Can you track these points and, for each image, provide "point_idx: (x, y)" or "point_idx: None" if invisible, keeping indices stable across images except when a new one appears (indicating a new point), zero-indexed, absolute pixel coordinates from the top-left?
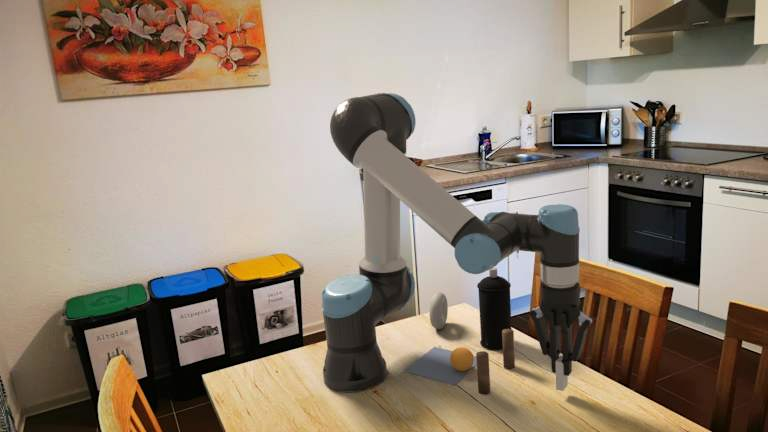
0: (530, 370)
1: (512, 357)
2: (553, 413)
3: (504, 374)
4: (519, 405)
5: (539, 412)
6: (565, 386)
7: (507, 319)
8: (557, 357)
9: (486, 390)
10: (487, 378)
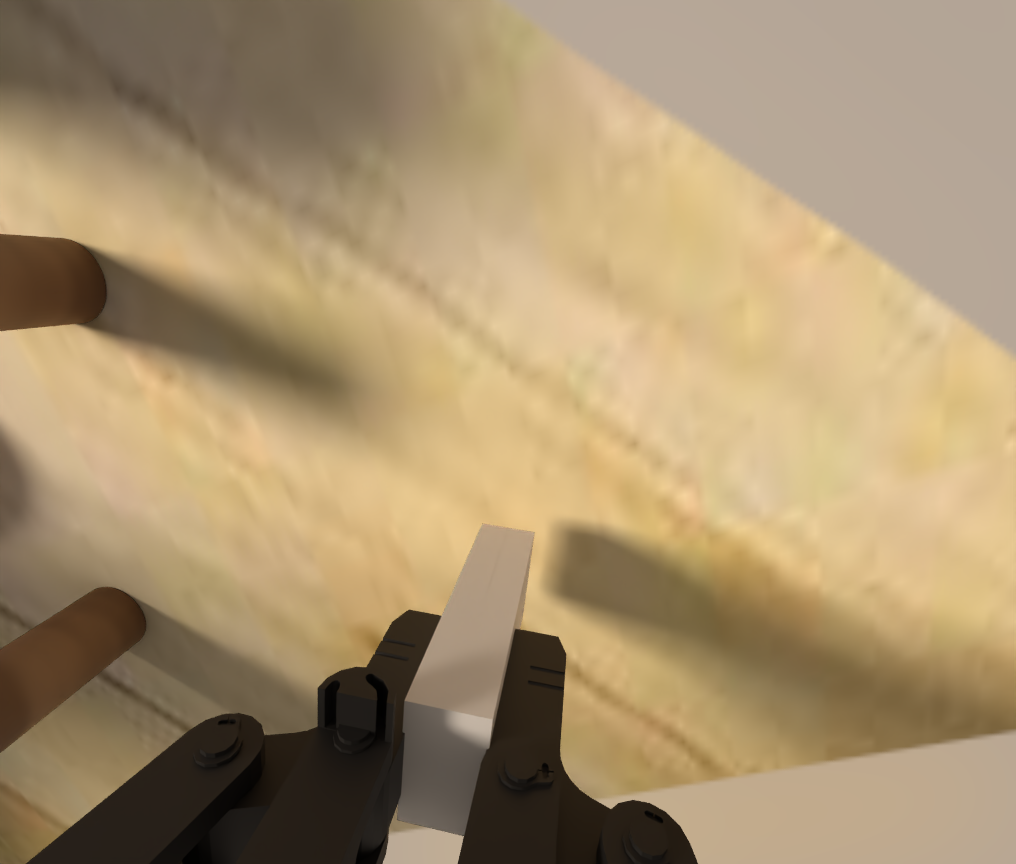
0: (213, 278)
1: (8, 310)
2: None
3: (100, 396)
4: None
5: None
6: (527, 578)
7: None
8: (394, 797)
9: (118, 655)
10: (50, 706)
